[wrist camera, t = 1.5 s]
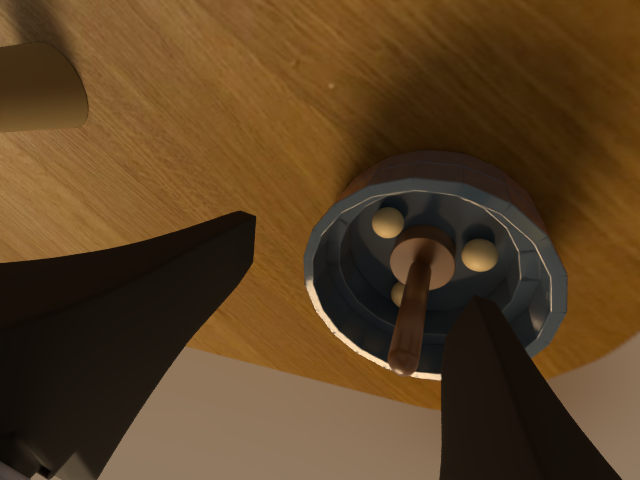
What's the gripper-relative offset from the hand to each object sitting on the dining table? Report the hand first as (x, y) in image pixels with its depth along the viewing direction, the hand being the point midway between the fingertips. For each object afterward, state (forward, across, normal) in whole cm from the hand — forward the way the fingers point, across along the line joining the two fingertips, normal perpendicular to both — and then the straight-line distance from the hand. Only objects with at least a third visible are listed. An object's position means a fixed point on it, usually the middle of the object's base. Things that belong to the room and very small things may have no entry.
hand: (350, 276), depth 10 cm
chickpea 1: (+8, -1, +2) cm, 9 cm away
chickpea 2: (+8, -3, +7) cm, 11 cm away
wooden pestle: (+9, -3, +4) cm, 10 cm away
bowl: (+10, -3, +4) cm, 11 cm away
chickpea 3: (+8, -6, +2) cm, 10 cm away
